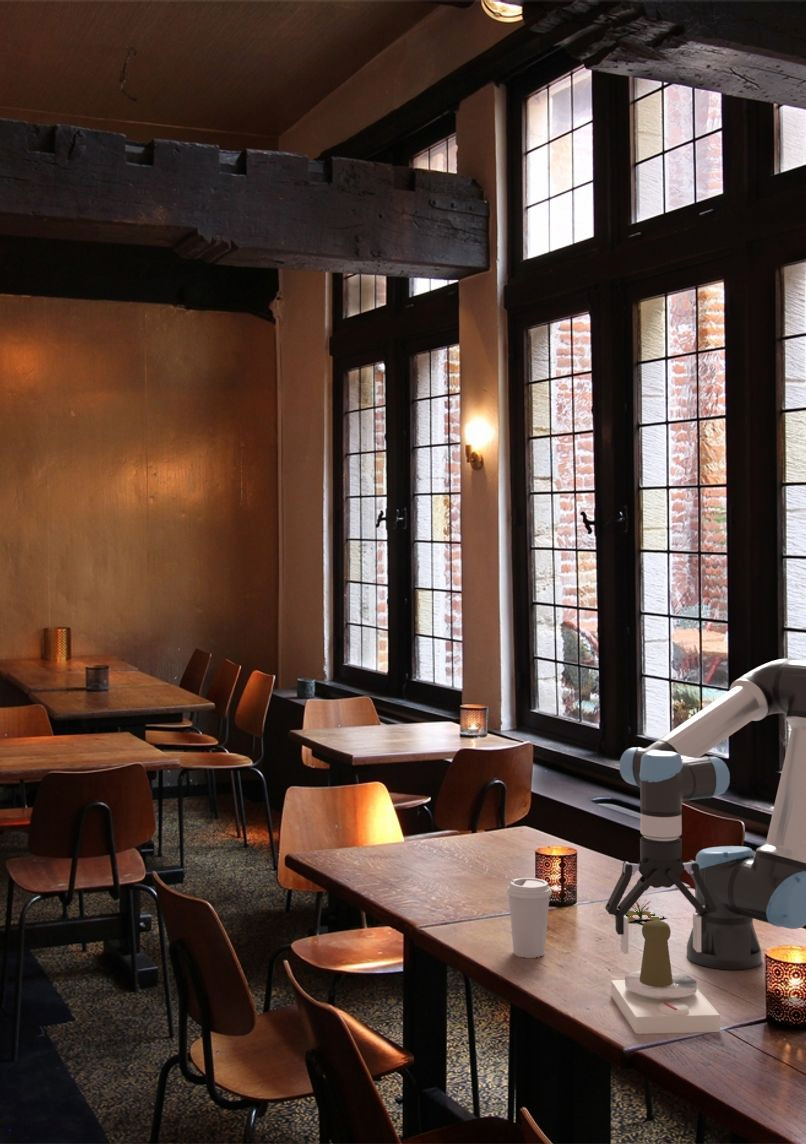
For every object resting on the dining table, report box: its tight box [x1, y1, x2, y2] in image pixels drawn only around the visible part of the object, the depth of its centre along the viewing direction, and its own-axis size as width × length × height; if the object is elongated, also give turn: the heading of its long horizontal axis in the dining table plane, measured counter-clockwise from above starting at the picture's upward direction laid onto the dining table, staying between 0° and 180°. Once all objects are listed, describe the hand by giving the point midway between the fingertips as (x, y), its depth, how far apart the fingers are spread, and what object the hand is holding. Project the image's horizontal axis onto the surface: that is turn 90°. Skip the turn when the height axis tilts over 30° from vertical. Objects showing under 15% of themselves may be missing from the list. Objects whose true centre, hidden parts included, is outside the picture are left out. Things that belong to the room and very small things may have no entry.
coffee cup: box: [505, 877, 553, 959], centre depth 262 cm, size 10×10×15 cm
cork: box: [640, 920, 673, 987], centre depth 229 cm, size 6×6×11 cm
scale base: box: [610, 979, 721, 1035], centre depth 227 cm, size 15×19×4 cm
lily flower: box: [625, 898, 662, 925], centre depth 288 cm, size 12×12×5 cm
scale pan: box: [624, 969, 698, 1000], centre depth 229 cm, size 13×13×1 cm
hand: (660, 950), depth 229 cm, fingers open, 13 cm apart
